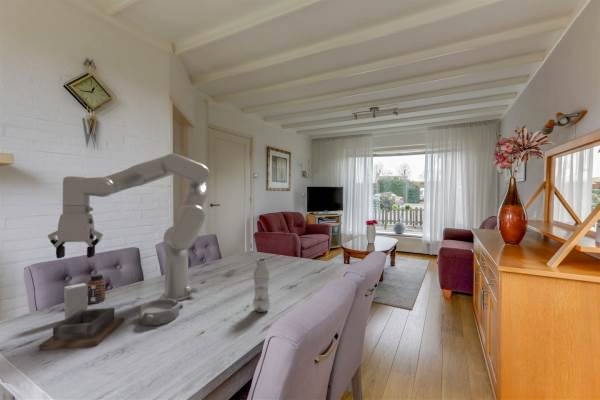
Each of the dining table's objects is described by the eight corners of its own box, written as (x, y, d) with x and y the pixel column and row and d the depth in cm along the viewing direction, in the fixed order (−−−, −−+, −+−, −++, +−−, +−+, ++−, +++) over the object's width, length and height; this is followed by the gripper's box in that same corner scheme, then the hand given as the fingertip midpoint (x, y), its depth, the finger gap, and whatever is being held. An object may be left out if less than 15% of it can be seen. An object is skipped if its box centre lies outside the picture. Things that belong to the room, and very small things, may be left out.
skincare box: (85, 314, 102) (85, 282, 102) (88, 317, 99) (88, 284, 99) (63, 319, 97) (63, 286, 97) (66, 323, 94) (66, 288, 94)
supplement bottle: (95, 304, 111) (95, 277, 111) (84, 303, 112) (84, 276, 112) (108, 299, 117) (108, 273, 117) (97, 298, 118) (97, 272, 118)
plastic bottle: (256, 315, 101) (256, 262, 101) (250, 309, 107) (251, 258, 107) (272, 312, 104) (272, 260, 104) (266, 306, 110) (266, 257, 110)
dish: (151, 331, 89) (151, 316, 89) (129, 320, 97) (129, 307, 97) (189, 315, 102) (189, 302, 102) (167, 307, 109) (167, 295, 109)
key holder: (124, 320, 97) (124, 305, 97) (96, 345, 80) (97, 327, 80) (77, 323, 94) (77, 307, 94) (38, 350, 77) (38, 331, 77)
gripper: (107, 210, 103) (107, 254, 103) (56, 210, 100) (56, 255, 100) (96, 211, 96) (96, 259, 96) (40, 210, 93) (40, 260, 93)
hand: (75, 257), depth 98 cm, fingers open, 9 cm apart
